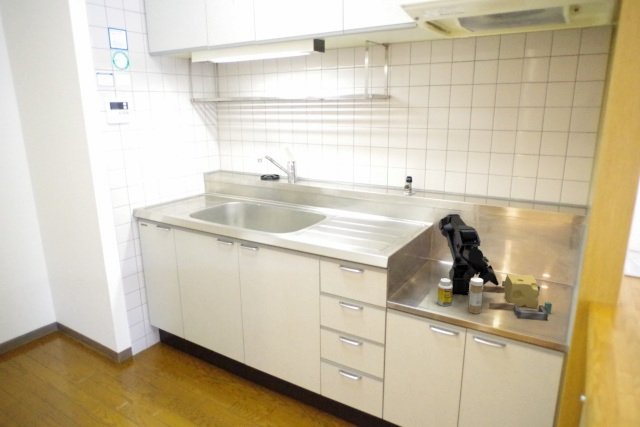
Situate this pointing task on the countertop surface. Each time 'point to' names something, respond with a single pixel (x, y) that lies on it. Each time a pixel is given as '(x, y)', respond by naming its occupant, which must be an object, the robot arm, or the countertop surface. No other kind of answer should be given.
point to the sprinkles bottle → (475, 295)
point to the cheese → (521, 290)
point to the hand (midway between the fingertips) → (497, 284)
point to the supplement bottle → (445, 292)
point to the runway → (520, 313)
